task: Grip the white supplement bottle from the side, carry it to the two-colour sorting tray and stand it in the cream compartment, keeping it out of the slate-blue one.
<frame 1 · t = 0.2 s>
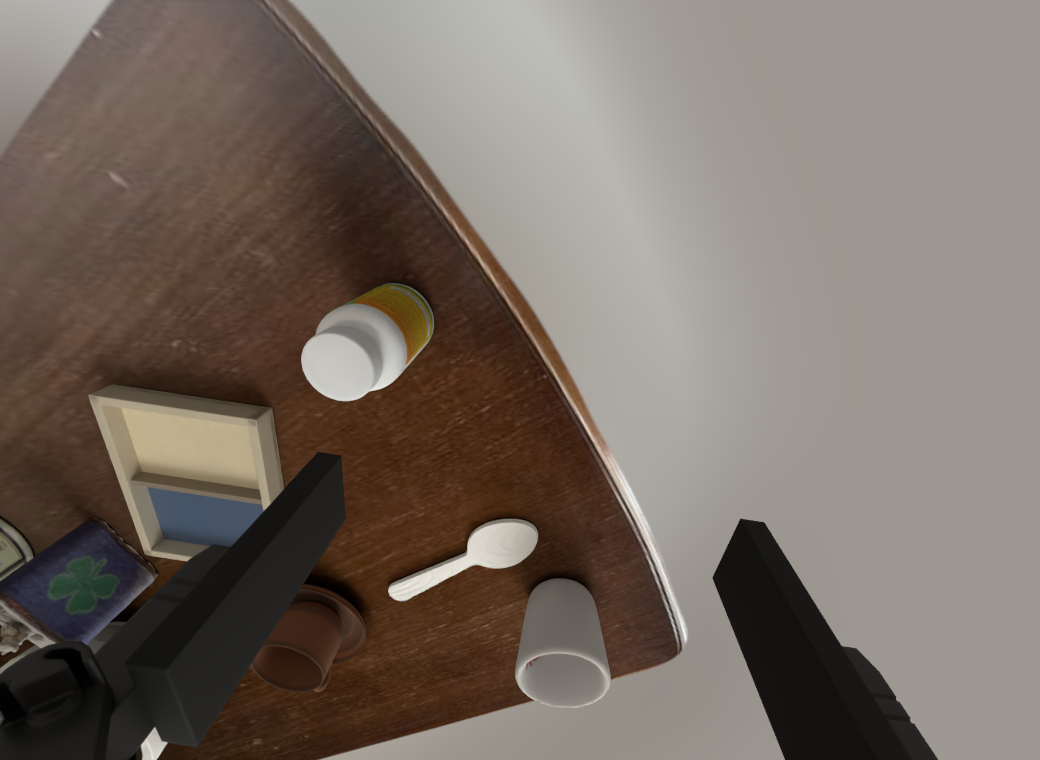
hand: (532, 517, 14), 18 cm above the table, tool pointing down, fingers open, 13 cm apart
cup: (563, 603, 42), on the table
supplement bottle: (400, 317, 31), on the table
sorting tray: (212, 480, 39), on the table
cup and saucer: (320, 609, 45), on the table
bowl: (142, 648, 51), on the table
flask: (125, 547, 44), on the table
spoon: (459, 560, 40), on the table
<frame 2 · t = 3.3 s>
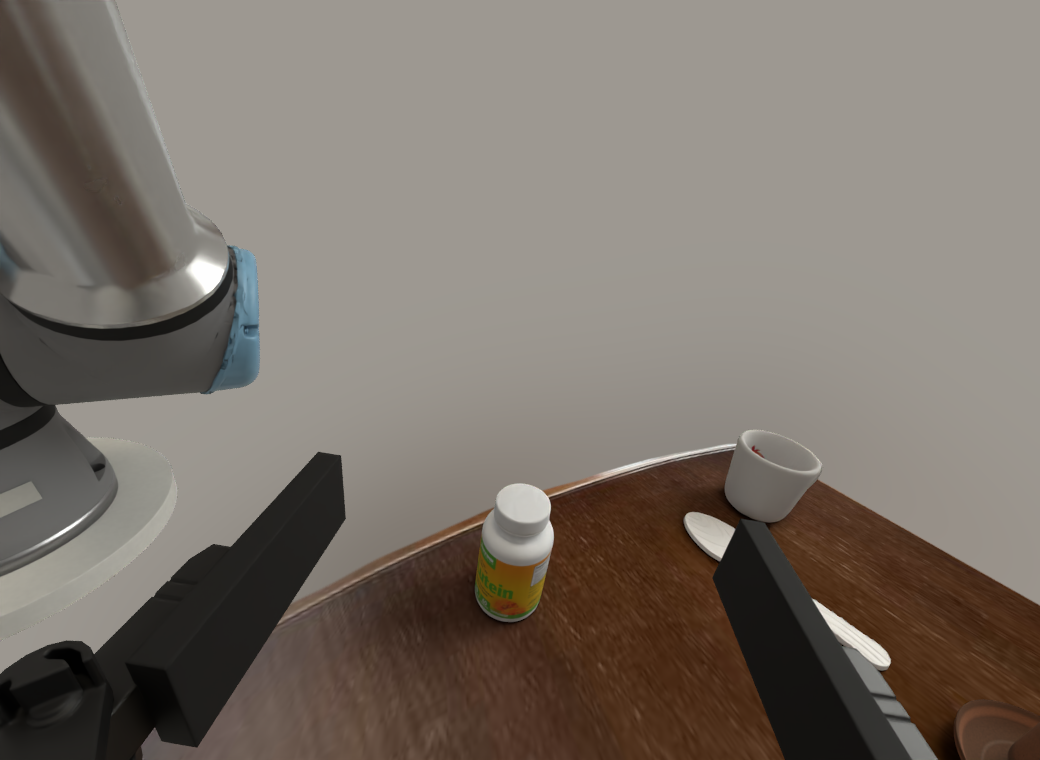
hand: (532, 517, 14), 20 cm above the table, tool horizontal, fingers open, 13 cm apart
cup: (760, 506, 48), on the table
supplement bottle: (506, 594, 33), on the table
spoon: (769, 580, 38), on the table
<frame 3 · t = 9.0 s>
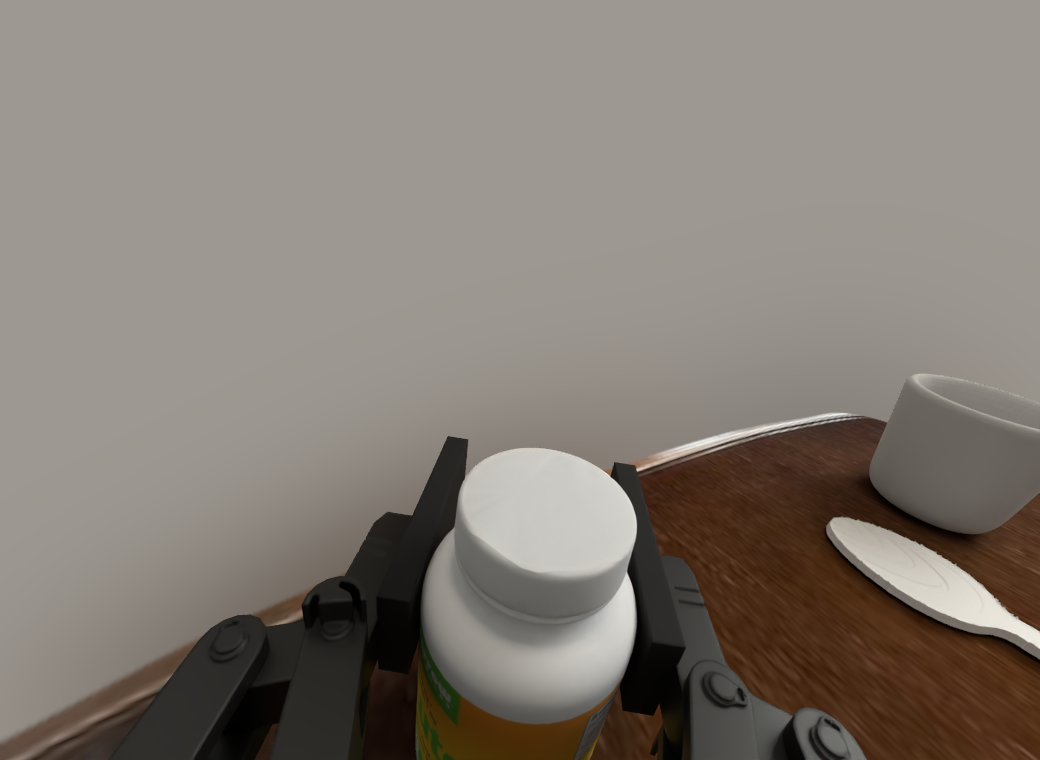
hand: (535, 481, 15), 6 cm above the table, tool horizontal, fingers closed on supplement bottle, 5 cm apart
cup: (934, 505, 28), on the table
supplement bottle: (500, 734, 13), on the table, touching gripper
when the fingers open (7 cm above the table, at t = 17.7 s): supplement bottle stays where it is, resting on sorting tray.
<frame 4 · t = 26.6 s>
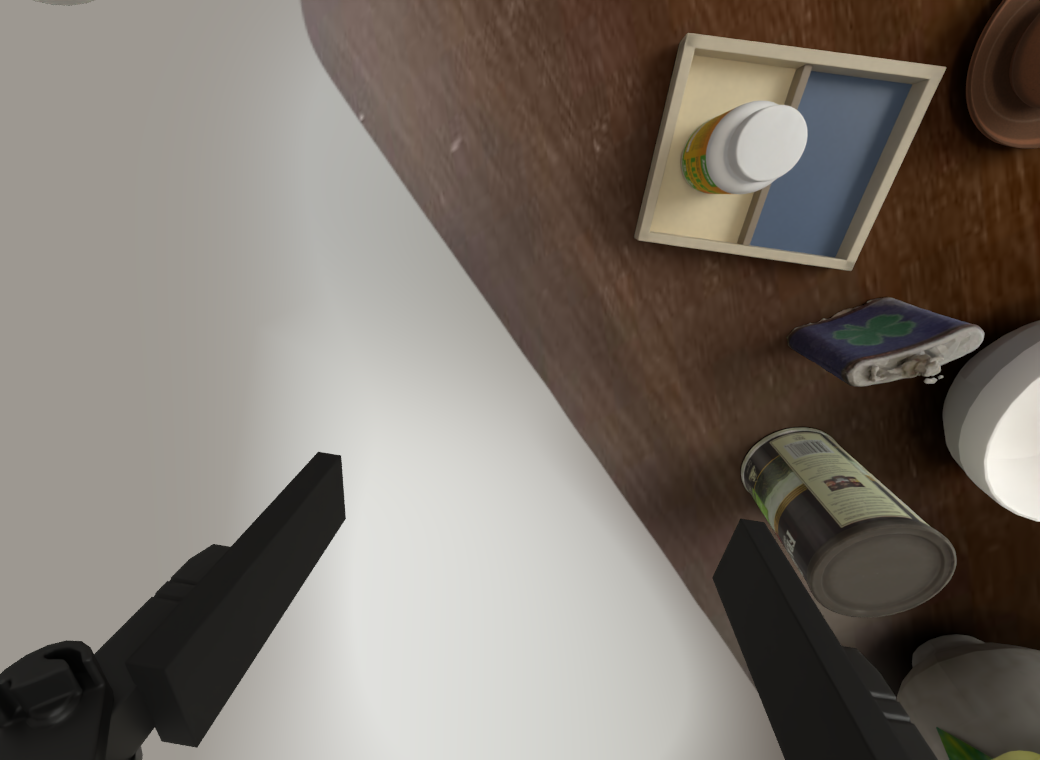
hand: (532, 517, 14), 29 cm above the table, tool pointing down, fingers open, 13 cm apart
coffee can: (789, 465, 45), on the table
supplement bottle: (713, 157, 33), resting on sorting tray
sorting tray: (764, 164, 33), on the table
bowl: (1011, 382, 39), on the table
flower arrangement: (944, 650, 55), on the table
flask: (837, 324, 38), on the table
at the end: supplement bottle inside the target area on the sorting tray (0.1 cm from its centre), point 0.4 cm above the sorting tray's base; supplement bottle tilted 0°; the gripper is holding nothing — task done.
